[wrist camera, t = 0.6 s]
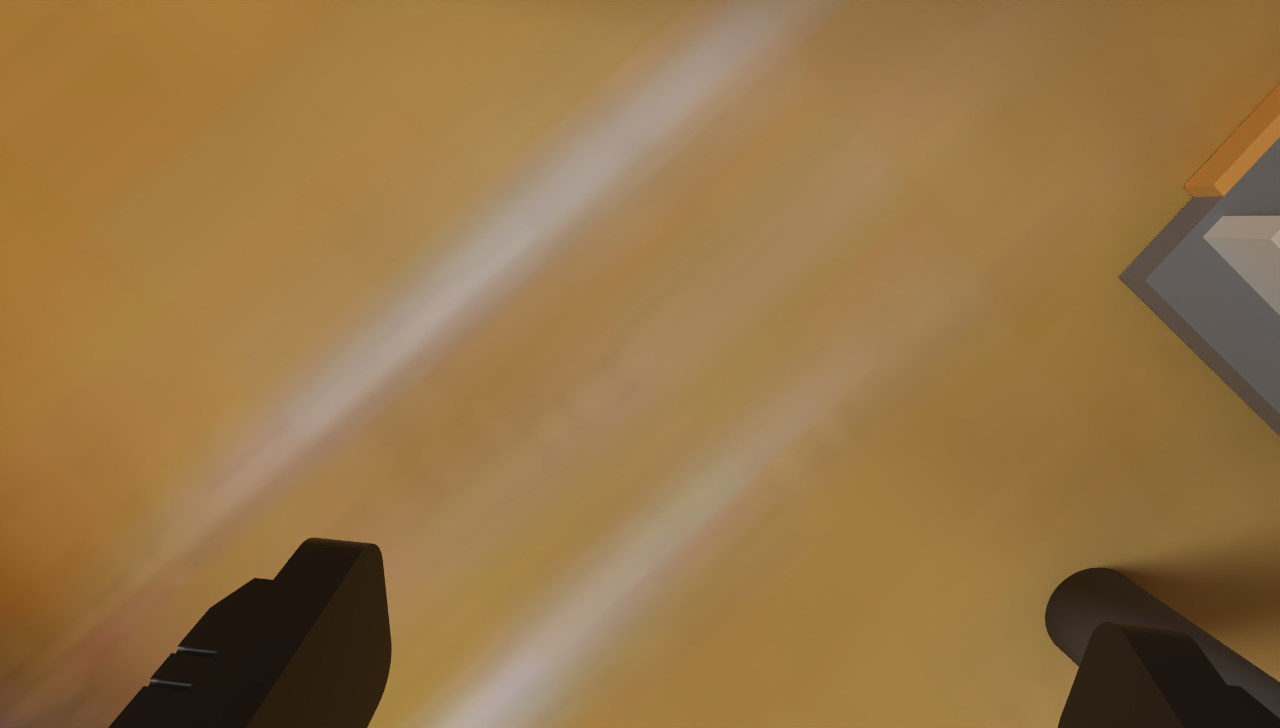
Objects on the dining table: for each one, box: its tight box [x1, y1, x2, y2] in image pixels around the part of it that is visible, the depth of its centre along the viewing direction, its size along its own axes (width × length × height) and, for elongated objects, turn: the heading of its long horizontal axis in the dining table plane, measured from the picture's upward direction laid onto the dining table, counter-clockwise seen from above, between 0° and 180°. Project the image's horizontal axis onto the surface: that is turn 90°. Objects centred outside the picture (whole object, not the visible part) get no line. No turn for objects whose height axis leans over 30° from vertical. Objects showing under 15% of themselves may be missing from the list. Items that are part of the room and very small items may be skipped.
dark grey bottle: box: [1045, 568, 1280, 718], centre depth 27 cm, size 4×4×13 cm
